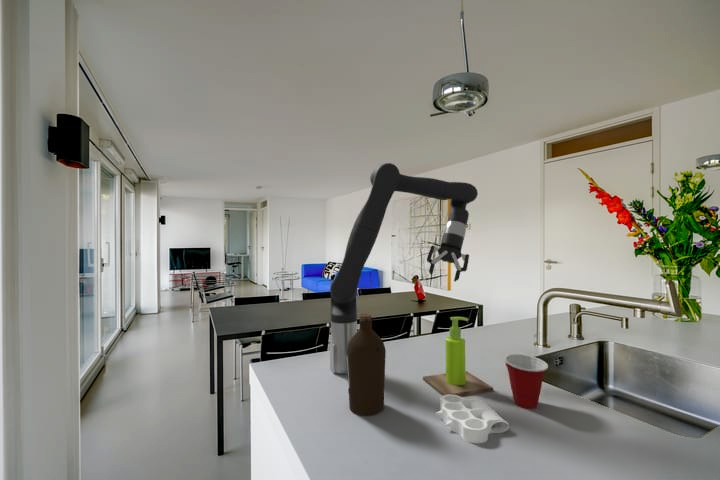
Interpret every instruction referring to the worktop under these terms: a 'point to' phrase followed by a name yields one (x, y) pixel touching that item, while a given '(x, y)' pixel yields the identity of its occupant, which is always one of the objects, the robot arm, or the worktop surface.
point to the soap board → (470, 387)
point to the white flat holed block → (470, 418)
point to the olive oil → (366, 369)
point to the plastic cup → (525, 378)
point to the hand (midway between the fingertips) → (443, 277)
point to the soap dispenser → (455, 354)
